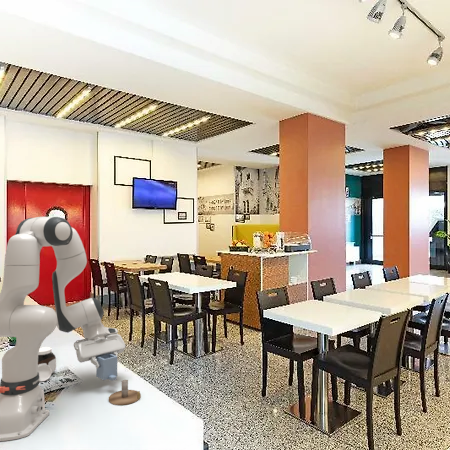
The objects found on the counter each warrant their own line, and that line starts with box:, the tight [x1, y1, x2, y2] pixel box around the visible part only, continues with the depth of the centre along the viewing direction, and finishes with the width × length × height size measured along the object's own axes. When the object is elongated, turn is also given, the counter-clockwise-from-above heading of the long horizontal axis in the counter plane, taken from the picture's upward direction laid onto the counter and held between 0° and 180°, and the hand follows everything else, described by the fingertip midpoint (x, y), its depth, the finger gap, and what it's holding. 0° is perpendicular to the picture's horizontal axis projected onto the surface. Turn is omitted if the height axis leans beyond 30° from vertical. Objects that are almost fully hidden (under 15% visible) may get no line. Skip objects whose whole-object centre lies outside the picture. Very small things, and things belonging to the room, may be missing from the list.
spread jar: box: [38, 346, 57, 382], centre depth 169 cm, size 12×11×12 cm
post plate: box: [108, 379, 142, 406], centre depth 148 cm, size 12×12×7 cm
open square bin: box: [95, 353, 118, 382], centre depth 155 cm, size 9×6×8 cm, turn 45°
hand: (107, 365), depth 156 cm, fingers closed on open square bin, 6 cm apart
